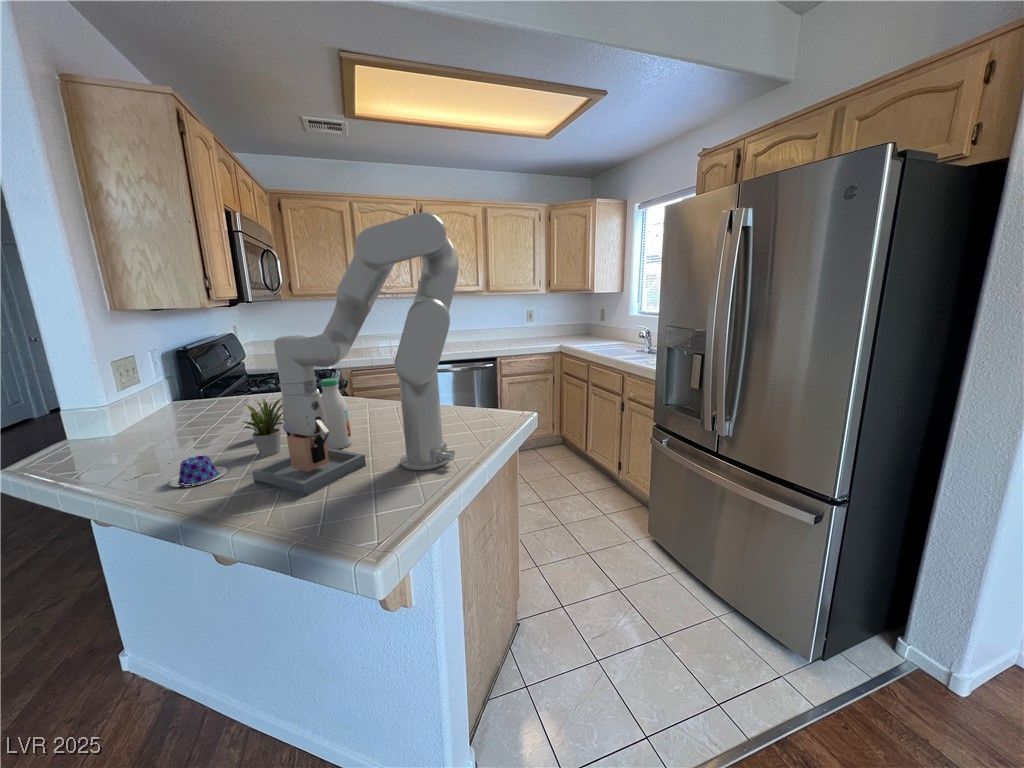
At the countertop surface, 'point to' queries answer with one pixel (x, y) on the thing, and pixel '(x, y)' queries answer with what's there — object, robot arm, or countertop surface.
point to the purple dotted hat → (198, 471)
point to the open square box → (303, 452)
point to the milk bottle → (335, 415)
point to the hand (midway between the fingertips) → (309, 458)
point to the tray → (308, 473)
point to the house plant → (266, 429)
